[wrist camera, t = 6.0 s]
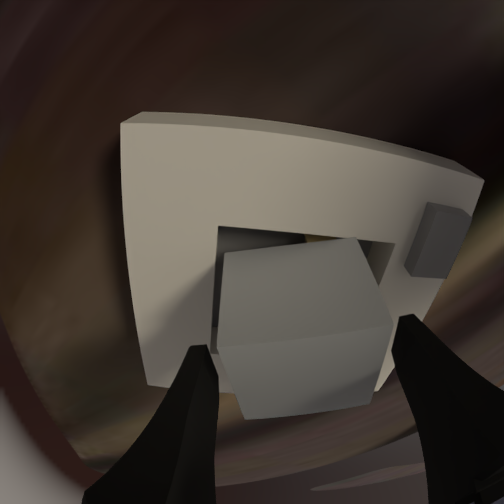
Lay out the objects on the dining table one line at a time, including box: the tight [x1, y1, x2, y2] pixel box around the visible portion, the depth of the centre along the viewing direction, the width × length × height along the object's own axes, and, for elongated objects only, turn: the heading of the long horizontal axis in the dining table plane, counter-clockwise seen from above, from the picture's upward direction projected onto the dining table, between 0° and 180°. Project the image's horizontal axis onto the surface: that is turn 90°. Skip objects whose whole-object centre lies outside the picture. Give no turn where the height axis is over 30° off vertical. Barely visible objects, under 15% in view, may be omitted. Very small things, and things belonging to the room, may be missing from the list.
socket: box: [121, 112, 484, 393], centre depth 14 cm, size 14×14×3 cm
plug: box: [217, 234, 394, 420], centre depth 12 cm, size 5×5×6 cm
